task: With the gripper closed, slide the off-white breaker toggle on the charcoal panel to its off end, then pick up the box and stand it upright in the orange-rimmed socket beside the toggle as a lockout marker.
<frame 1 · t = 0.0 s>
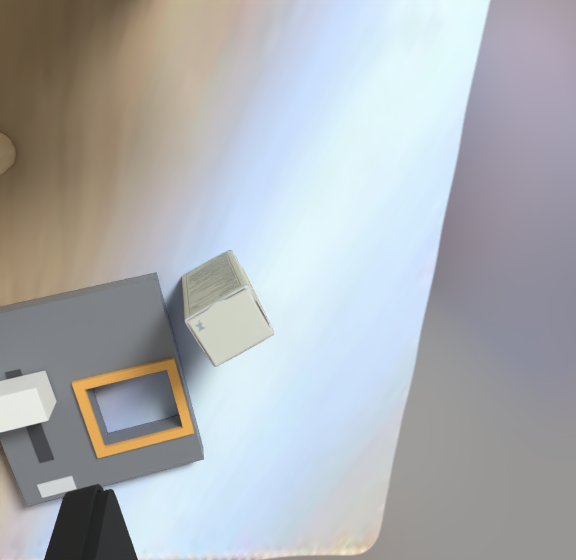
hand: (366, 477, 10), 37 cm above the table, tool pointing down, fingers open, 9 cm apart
box: (218, 280, 47), on the table
breaker toggle: (14, 402, 43), point 4 cm above the table, slide at 0.0 cm, touching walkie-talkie
milkshake: (0, 150, 41), on the table
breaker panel: (92, 386, 47), on the table
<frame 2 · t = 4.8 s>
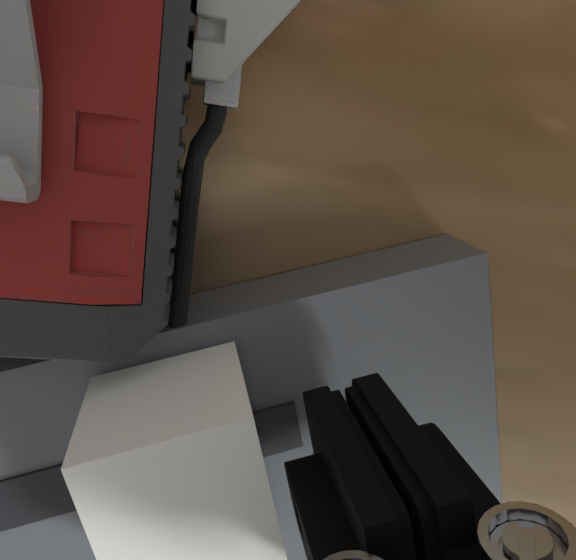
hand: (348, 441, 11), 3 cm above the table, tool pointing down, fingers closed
breaker toggle: (194, 503, 10), point 4 cm above the table, slide at 0.5 cm, touching gripper, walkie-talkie
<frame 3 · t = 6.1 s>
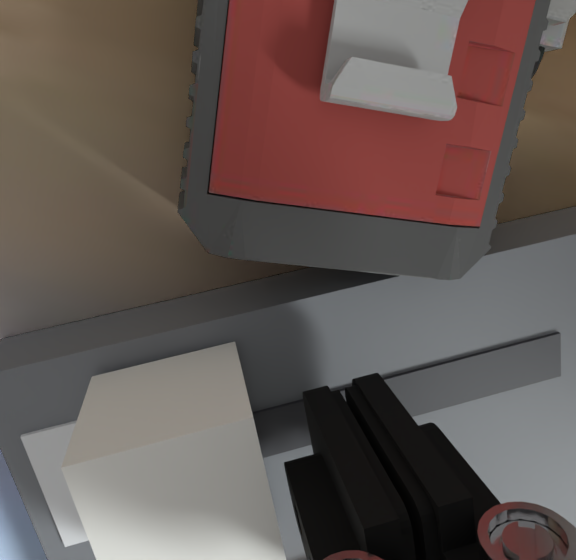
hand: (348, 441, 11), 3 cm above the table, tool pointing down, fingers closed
breaker toggle: (194, 503, 10), point 4 cm above the table, slide at 7.2 cm, touching gripper
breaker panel: (397, 502, 16), on the table
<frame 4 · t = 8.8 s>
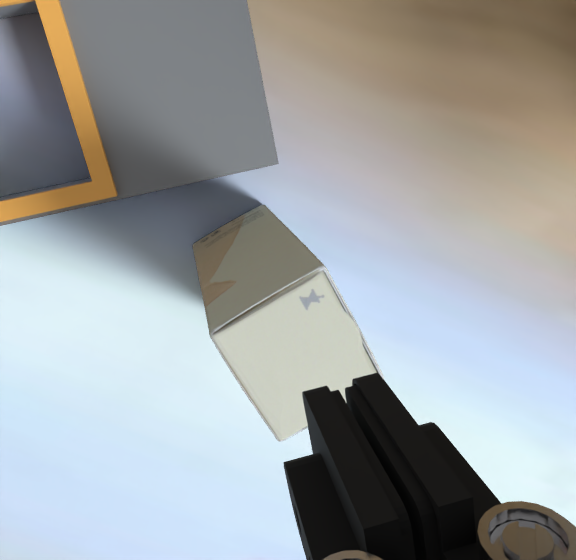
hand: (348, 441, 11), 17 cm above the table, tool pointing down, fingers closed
box: (252, 264, 27), on the table
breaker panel: (24, 14, 22), on the table
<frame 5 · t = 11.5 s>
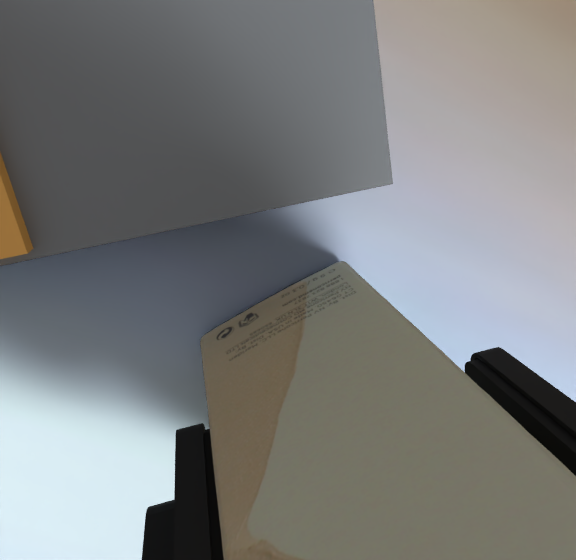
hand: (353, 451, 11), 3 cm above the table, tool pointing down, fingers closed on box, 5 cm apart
box: (312, 370, 14), on the table, touching gripper
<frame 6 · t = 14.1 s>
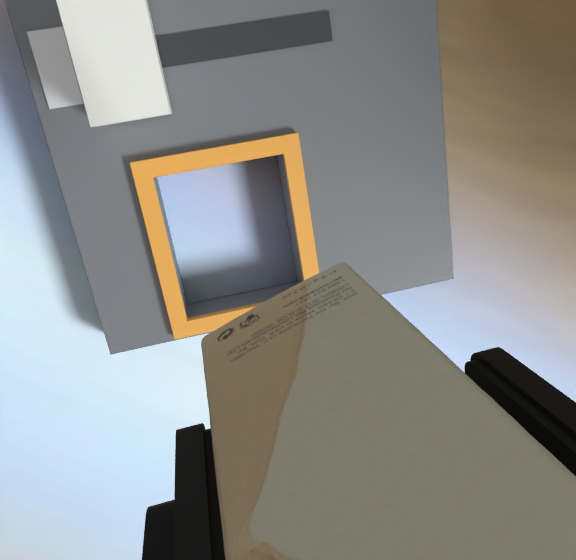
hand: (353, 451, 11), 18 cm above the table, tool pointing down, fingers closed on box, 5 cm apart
box: (313, 371, 14), point 14 cm above the table, touching gripper
breaker toggle: (118, 54, 21), point 4 cm above the table, slide at 7.1 cm
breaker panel: (256, 154, 26), on the table
when the fingers open (5 cm above the table, at t = 17.0 s): box drops 1 cm, resting in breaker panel.
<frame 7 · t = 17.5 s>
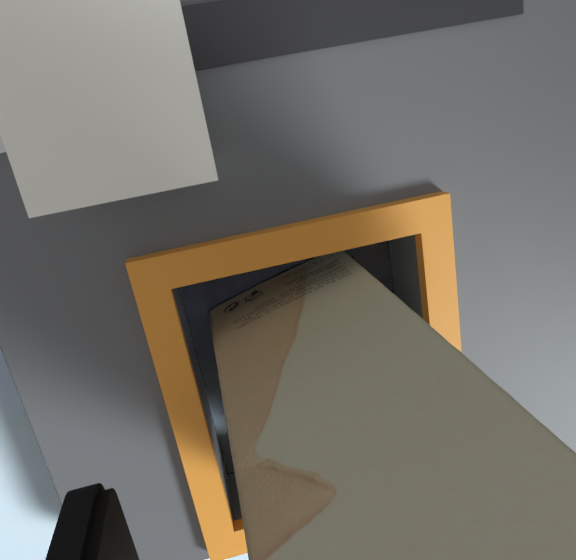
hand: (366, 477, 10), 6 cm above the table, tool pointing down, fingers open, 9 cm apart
box: (307, 347, 16), resting in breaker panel
breaker toggle: (94, 42, 9), point 4 cm above the table, slide at 7.1 cm
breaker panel: (351, 222, 15), on the table
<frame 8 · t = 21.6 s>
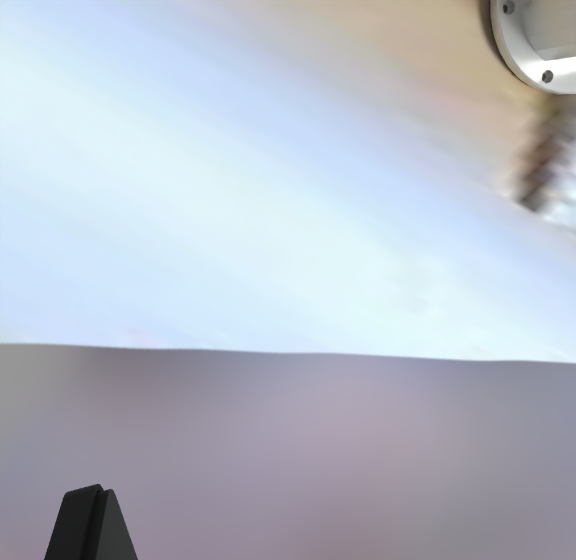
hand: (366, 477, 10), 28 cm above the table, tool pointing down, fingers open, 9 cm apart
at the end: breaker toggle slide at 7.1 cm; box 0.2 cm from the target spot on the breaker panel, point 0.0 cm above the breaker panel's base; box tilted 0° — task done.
